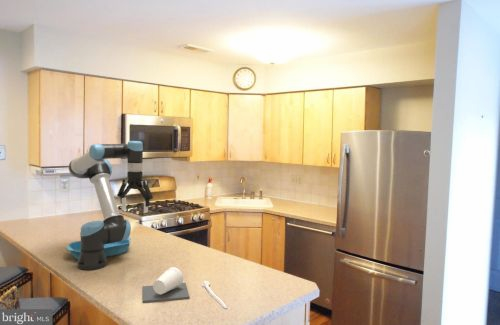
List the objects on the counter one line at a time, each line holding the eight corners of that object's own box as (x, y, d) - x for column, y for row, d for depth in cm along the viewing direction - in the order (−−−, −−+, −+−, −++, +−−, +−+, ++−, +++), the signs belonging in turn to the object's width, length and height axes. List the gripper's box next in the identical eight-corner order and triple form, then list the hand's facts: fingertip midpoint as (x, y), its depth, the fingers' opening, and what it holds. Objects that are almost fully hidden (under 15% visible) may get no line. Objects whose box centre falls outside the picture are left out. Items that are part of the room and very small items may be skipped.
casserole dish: (73, 265, 209) (73, 252, 208) (61, 255, 225) (61, 243, 225) (137, 252, 233) (137, 241, 232) (122, 244, 250) (122, 233, 249)
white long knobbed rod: (232, 308, 163) (232, 302, 163) (224, 310, 162) (224, 304, 161) (208, 284, 188) (208, 279, 188) (200, 286, 186) (200, 280, 186)
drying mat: (142, 303, 165) (142, 300, 165) (142, 288, 181) (142, 286, 181) (189, 298, 171) (189, 296, 171) (185, 284, 186) (185, 282, 186)
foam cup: (157, 301, 169) (172, 290, 182) (172, 291, 166) (186, 280, 179) (146, 283, 171) (162, 273, 183) (160, 272, 168) (175, 263, 180)
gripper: (110, 170, 200) (110, 210, 201) (151, 173, 192) (151, 215, 193) (119, 168, 207) (119, 207, 209) (159, 171, 199) (159, 212, 200)
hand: (134, 211), depth 201 cm, fingers open, 13 cm apart
